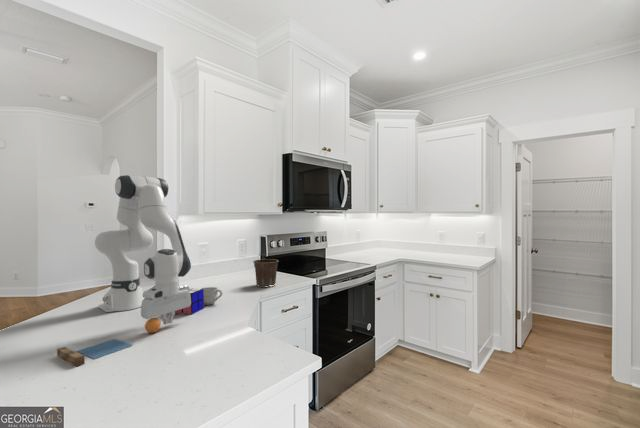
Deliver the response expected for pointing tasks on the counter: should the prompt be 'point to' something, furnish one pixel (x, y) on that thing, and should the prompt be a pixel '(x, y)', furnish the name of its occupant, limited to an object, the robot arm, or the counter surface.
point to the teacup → (211, 295)
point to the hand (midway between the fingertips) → (167, 323)
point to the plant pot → (265, 271)
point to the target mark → (104, 348)
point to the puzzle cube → (194, 302)
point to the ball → (152, 325)
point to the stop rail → (71, 356)
